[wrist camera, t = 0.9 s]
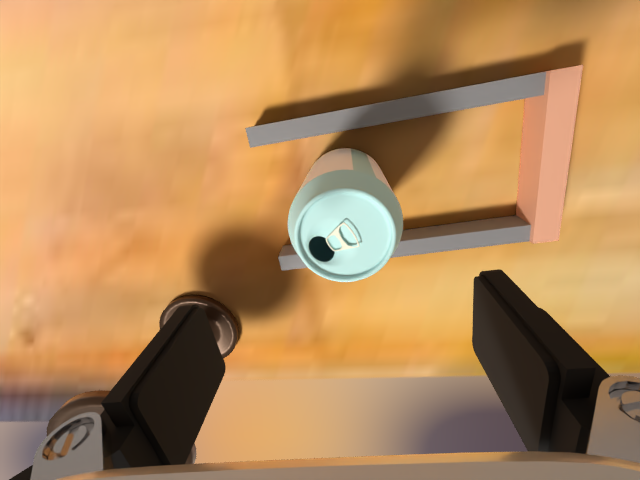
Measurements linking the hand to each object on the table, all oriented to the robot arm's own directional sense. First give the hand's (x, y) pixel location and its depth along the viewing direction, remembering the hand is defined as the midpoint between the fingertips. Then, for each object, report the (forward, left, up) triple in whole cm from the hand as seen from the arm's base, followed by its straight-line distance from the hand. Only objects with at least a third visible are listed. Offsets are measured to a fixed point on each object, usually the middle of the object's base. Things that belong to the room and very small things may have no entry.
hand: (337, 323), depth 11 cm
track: (-5, 0, -19) cm, 20 cm away
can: (0, 0, -20) cm, 20 cm away
